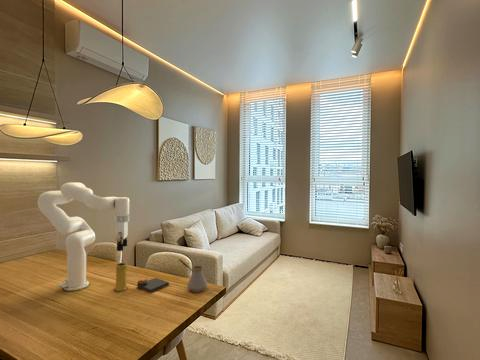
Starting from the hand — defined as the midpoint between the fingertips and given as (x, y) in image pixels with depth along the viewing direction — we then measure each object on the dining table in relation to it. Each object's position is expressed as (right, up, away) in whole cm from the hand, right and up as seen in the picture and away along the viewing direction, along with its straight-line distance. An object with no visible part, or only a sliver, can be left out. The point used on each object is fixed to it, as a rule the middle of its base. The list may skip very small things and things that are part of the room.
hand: (122, 248), depth 151 cm
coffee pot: (+39, -24, +4) cm, 46 cm away
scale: (+17, -24, +4) cm, 29 cm away
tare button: (+11, -20, +3) cm, 23 cm away
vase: (-1, -24, 0) cm, 24 cm away
